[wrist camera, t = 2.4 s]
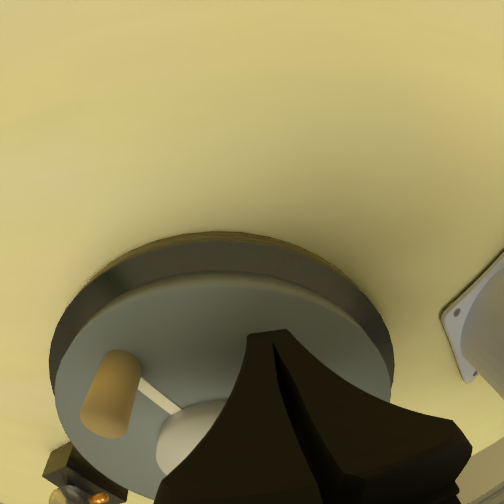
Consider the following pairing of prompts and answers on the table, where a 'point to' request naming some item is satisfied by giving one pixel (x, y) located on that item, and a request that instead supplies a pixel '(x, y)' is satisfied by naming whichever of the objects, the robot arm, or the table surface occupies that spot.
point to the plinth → (223, 259)
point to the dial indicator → (79, 480)
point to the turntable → (188, 365)
